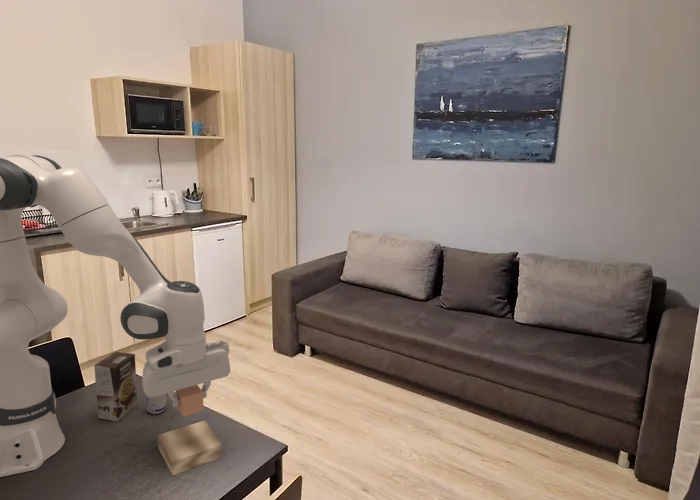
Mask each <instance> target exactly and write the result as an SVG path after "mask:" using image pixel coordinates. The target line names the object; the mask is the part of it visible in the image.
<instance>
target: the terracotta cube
mask: <svg viewBox="0 0 700 500" xmlns="http://www.w3.org/2000/svg"><path fill="white" fill-rule="evenodd" d="M201 389H202V388H200V386H199V384H198V385H194V386H191V387H187V388H184V389H180V390H177V391H175V397H176V396H178V397H179V399H180V405H179V406H176V409H177V410H178V412H179V413H180V415H181V417H182V418H185V417H188V416H190V415H194V414H198V413H201V412H203V411H204V408H205V407H204V398H203V392H202V390H201Z"/></svg>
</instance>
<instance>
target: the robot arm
mask: <svg viewBox="0 0 700 500" xmlns="http://www.w3.org/2000/svg"><path fill="white" fill-rule="evenodd" d="M38 206H40V207H42V208H44V209H46V210H47V211H48V212H49V214H50V215H51V217H52V218H53V220H54V221H55V223H56V224H57V226H58V228H59V229H60V231H61V233H62V234H63V236H64V237H65V239H66V240H67V241H68V242H69V243H70V245H72V247H73V248H75V249H76V250H77V251H78V252H80V253H82V254H85V255H89V256H93V257H94V256H95V257H105V258H109V259H111V260H114V261H116V262H117V263H118V264H120V265H121V266H122V267H123V269H124V271H126V273H127V274H128V275H129V277H130V278H131V279H132V281H133V282H134V283H135V286H137V288H138V289H139V292H140V295H139V296H136V297H134V298H133V299H132V300H130V302H128V303H127V304H126V305H125V306H124V307H123V308H122V310H121V311H120V312H121V313H120V319H119V321H120V324H121V327H122V329H123V330H124V332H125V333H126V334H127V335H128V336H130V337H132V339H135V340H141V341H145V340H154V339H159V338H163V337H164V338H165V341H163V342H162V343H160V344H159V345H157V346H154V347H152V348H150V349H148V350H147V351H146V352H145V360H146V362H147V363H146V362H145V363H146V364H145V363H144V366H143V369H142V380H141V382H142V384H141V385H142V392H143V394H144V395H145V396H147V397H149V398H152V397H155V396H159V395H163V394H167V396H168V398H170V400H171V405H172V407H173V408H177V406H179V405H180V399H179V397H178V396H176V391H177V390H180V389H184V388H187V387H191V386H194V385H198V386H199V385H200V384H202V386H201V388H200V389H201V390H202V392H203V399H205V398H208V397H207V393H208V390H209V389H210V387H211V384H212V383H211V382H212V381H215V380H218V379H222V378H226V377H228V376H229V375H230V373H231V363H230V359H229V354H230V346H229V343H228V342H227V341H223V340H219V341H218V340H217V341H216V342H209V343H206V341H207V338H206V332H205V327H204V324H205V317H206V316H205V306H204V298H203V294H202V291H201V289H200V287H199V286H198V285H196V284H194V283H193V282H190V281H186V280H185V281H184V280H177V281H175V280H174V281H170V280H169V279H168V278H166V277H165V276H164V275H163V273H162V272H161V271H160V270H159V268H158V267H157V265H156V264H155V262H154V261H153V260H152V258H151V257H150V255H149V254H148V253H147V252H146V250H145V249H144V248H143V246H142V244H141V243H140V242H139V241H138V239H136V237H135V236H134V235H133V234H132V233H131V232H130V231H129V230H128V229H127V228H126V227H125V226H124V224H123V223H122V221H121V220H120V218H119V217H118V216H117V214H116V213H115V212H114V209H113V208H112V207H111V205H110V204H109V202H108V200H107V199H106V198H105V196H104V195H103V193H102V191H100V189H99V188H98V187H97V185H96V184H95V182H94V181H93V180H92V179H91V178H90V177H89V176H88V175H87V173H85V172H84V171H83V170H81V169H80V168H77V167H61V165H60V164H59V163H57V162H56V161H54V160H53V159H52V158H49V157H46V156H41V155H36V154H34V155H27V154H14V155H9V156H2V157H0V478H2V477H8V476H11V475H16V474H21V473H26V472H30V471H35V470H37V469H39V468H40V467H41V466H42V465H43V464H44V463H45V461H46V460H47V459H49V458H50V457H51V456H52V457H53V455H55V454H56V453H57V452H59V450H61V448H62V447H63V446H64V444H65V441H66V438H65V435H64V433H63V432H62V429H61V427H60V425H59V422H58V419H57V414H56V411H57V410H56V409H57V402H56V394H55V391H54V389H53V388H52V383H51V382H52V381H51V371H50V364H49V363H48V361H47V360H46V359H44V358H43V357H41V356H39V355H35V354H31V353H30V351H29V344H30V342H31V341H33V340H35V339H37V338H39V337H41V336H42V335H44V334H47V333H48V332H50V331H52V330H54V328H56V327H57V326H59V324H61V323H62V322H63V321H64V320H65V319H66V318H67V315H68V311H69V309H68V304H67V301H66V299H65V297H64V296H63V295H62V294H61V292H59V291H58V290H56V289H53V288H51V287H49V286H47V285H46V284H45V283H44V282H43V281H42V279H41V278H40V276H39V275H38V274H37V272H36V270H35V267H34V266H33V263H32V259H31V256H30V252H29V248H28V245H27V240H26V235H25V232H24V228H23V224H22V222H23V221H22V214H23V212H24V211H25V210H26V209H27V208H34V207H38Z"/></svg>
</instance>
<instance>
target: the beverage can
mask: <svg viewBox="0 0 700 500" xmlns="http://www.w3.org/2000/svg"><path fill="white" fill-rule="evenodd" d="M146 363H147V361H146V362H144V365H145V364H146ZM166 394H167V393H166ZM166 394H163V395H159V396H155V397H152V398H149V397H147V396H146V395H145V396H146V399H145V400H146V409H147V412H148V413H150V414H152V415H157V414H160V413H162V412H164V411H165V410H166V408H167V395H166Z"/></svg>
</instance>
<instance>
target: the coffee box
mask: <svg viewBox="0 0 700 500" xmlns="http://www.w3.org/2000/svg"><path fill="white" fill-rule="evenodd" d="M136 367H137V366H136V354H135V353H129V352H121V351H115V352H113V353H111V354H110V355H108V356H107V357H105V358H104V359H102V360H101V361H99V362H98V363H96V364H94V377H95V378H94V379H95V391H96V404H97V406H96V407H97V418H98V419H103V420H108V421H113V422H119V421H121V419H122V418H124V417H125V416H126V415H127V414H128V413H129V412H131V411H132V410H133V409H134V408H135V407H136V406H138V404H139V401H138V400H139V399H138V386H137V385H138V384H137V368H136Z"/></svg>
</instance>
